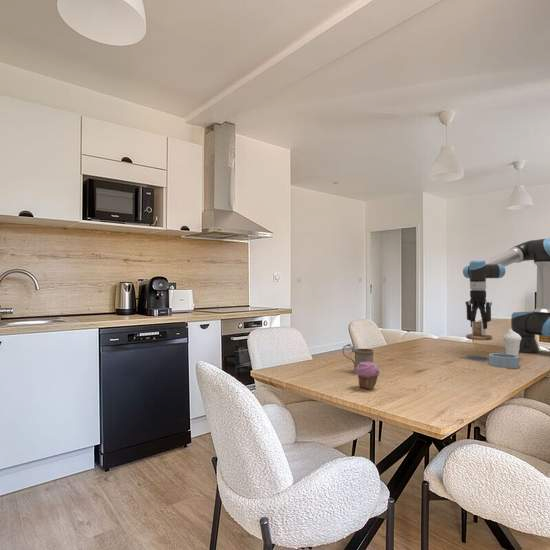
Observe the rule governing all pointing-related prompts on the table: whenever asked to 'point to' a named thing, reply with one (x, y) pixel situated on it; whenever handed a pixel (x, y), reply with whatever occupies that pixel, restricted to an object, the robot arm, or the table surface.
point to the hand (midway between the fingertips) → (479, 334)
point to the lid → (478, 333)
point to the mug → (360, 356)
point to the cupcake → (367, 374)
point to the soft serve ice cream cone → (512, 342)
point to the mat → (476, 358)
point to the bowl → (504, 360)
